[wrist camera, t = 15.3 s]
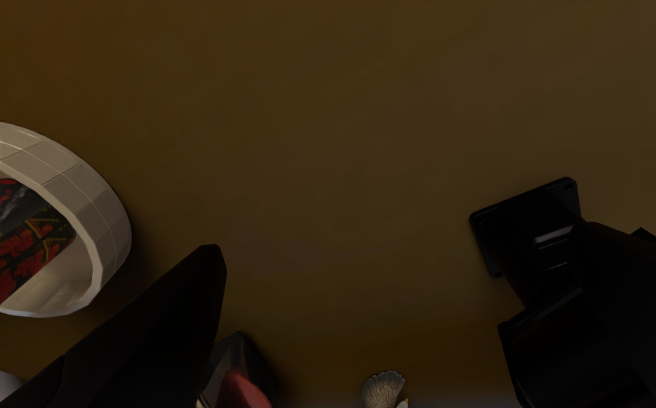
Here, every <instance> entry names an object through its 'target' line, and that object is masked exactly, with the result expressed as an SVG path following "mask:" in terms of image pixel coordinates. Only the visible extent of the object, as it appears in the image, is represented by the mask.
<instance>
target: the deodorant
mask: <svg viewBox="0 0 656 408" xmlns="http://www.w3.org/2000/svg"><path fill="white" fill-rule="evenodd" d="M75 237H76V230H75V229H74V228H73V226H72V225H71V224H70V222H69V221H68V220H67V218H66V217H65V216H64V215H62V214H61V213H60V212H59V211H58V210H57V209H55V208H54V207H53V206H52V205H51V204H50V203H48V202H47V201H46V200H45V199H44V198H43V197H42V196H40V195H39V194H38V193H37V192H36V191H34V190H33V189H31V188H29V187H27V186H26V185H24V184H22V183H20V182H19V181H17V180H15V179H13V178H1V179H0V305H1V304H2V303H3V302H4V301H5V300H7V299H8V298H9V297H10V296H11V295H12V294H13V293H15V292H16V291H17V290H18V289H19V288H20V287H22V286H23V285H24V284H25V283H26V282H27V281H28V280H30V279H31V278H32V277H33V276H34V275H35V274H37V273H38V272H39V271H40V270H41V269H42V268H43V267H45V266H46V265H47V264H48V263H49V262H50V261H52V260H53V259H54V258H55V257H56V256H57V255H58V254H60V253H61V252H62V251H63V250H64V249H65V248H67V247H68V246H69V245H70V244H71V243H72V242H73V241H74V239H75Z"/></svg>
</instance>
